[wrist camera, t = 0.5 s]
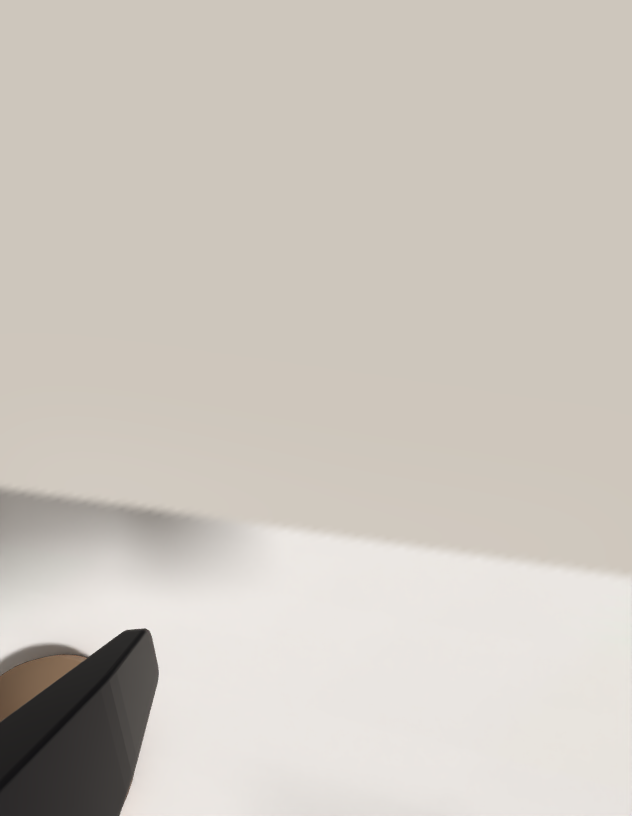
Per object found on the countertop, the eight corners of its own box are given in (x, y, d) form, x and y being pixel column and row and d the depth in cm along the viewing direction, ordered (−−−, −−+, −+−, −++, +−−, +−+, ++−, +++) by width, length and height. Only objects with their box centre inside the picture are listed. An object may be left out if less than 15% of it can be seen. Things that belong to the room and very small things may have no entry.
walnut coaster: (160, 813, 19) (151, 824, 18) (-24, 915, 19) (-44, 931, 18) (109, 623, 22) (99, 625, 21) (-53, 704, 22) (-71, 709, 21)
